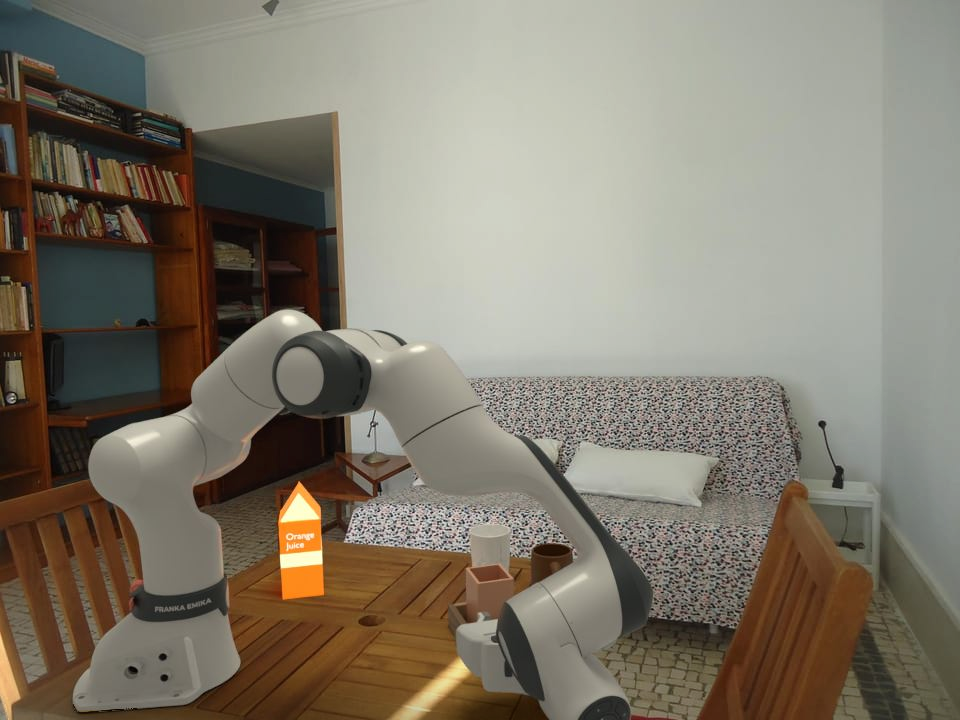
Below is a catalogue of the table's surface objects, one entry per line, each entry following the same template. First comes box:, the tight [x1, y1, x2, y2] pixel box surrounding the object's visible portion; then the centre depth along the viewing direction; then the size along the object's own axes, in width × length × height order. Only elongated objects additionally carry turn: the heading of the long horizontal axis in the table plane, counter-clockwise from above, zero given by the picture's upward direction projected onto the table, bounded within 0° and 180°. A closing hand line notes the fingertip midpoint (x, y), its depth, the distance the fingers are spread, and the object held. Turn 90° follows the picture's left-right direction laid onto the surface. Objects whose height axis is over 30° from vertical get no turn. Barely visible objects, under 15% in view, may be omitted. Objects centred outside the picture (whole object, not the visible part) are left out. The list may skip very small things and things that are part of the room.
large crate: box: [447, 601, 467, 638], centre depth 118 cm, size 11×12×4 cm
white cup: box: [469, 523, 511, 574], centre depth 141 cm, size 8×8×10 cm
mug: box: [530, 542, 574, 586], centre depth 128 cm, size 12×8×9 cm, turn 1°
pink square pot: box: [465, 563, 515, 624], centre depth 118 cm, size 6×7×10 cm
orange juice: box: [277, 481, 325, 600], centre depth 139 cm, size 8×9×20 cm
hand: (513, 612), depth 106 cm, fingers open, 8 cm apart
